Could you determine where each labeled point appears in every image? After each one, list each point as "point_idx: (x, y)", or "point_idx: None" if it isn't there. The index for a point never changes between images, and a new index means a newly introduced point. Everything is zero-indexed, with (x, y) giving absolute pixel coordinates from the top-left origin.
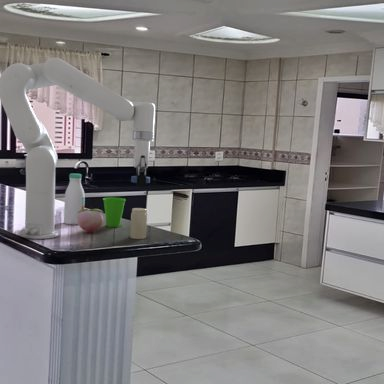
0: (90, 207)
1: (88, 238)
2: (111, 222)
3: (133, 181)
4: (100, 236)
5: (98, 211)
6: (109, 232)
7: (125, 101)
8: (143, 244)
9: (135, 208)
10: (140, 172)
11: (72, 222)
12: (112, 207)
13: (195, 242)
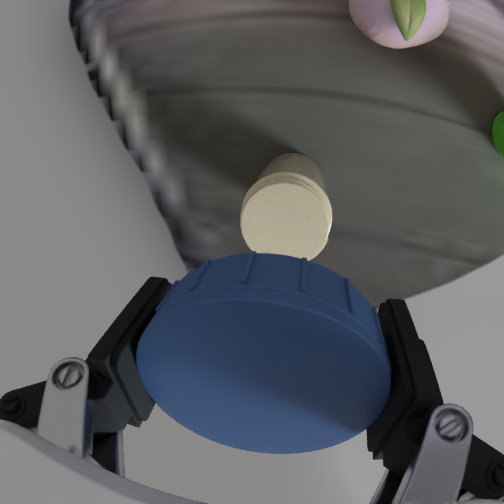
0: None
1: (262, 2)
2: (500, 122)
3: (188, 275)
4: (307, 41)
5: (401, 13)
6: (396, 86)
7: None
8: (170, 190)
9: (305, 206)
10: (28, 389)
11: None
12: None
13: None
